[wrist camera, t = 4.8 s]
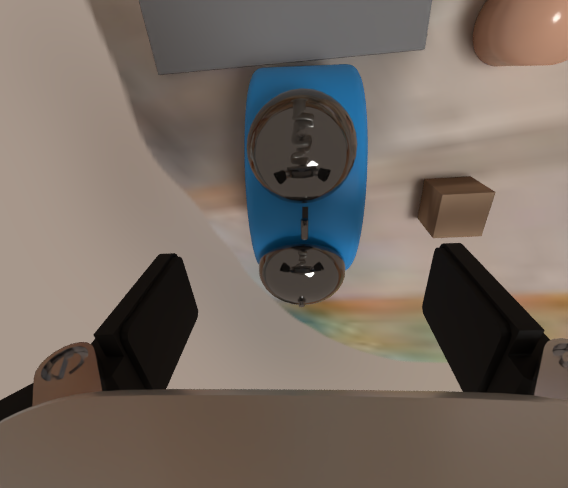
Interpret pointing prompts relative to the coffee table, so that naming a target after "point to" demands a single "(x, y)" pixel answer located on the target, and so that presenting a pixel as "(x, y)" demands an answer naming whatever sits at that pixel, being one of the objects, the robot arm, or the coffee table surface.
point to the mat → (278, 31)
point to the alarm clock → (305, 177)
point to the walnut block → (454, 207)
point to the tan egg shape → (522, 32)
